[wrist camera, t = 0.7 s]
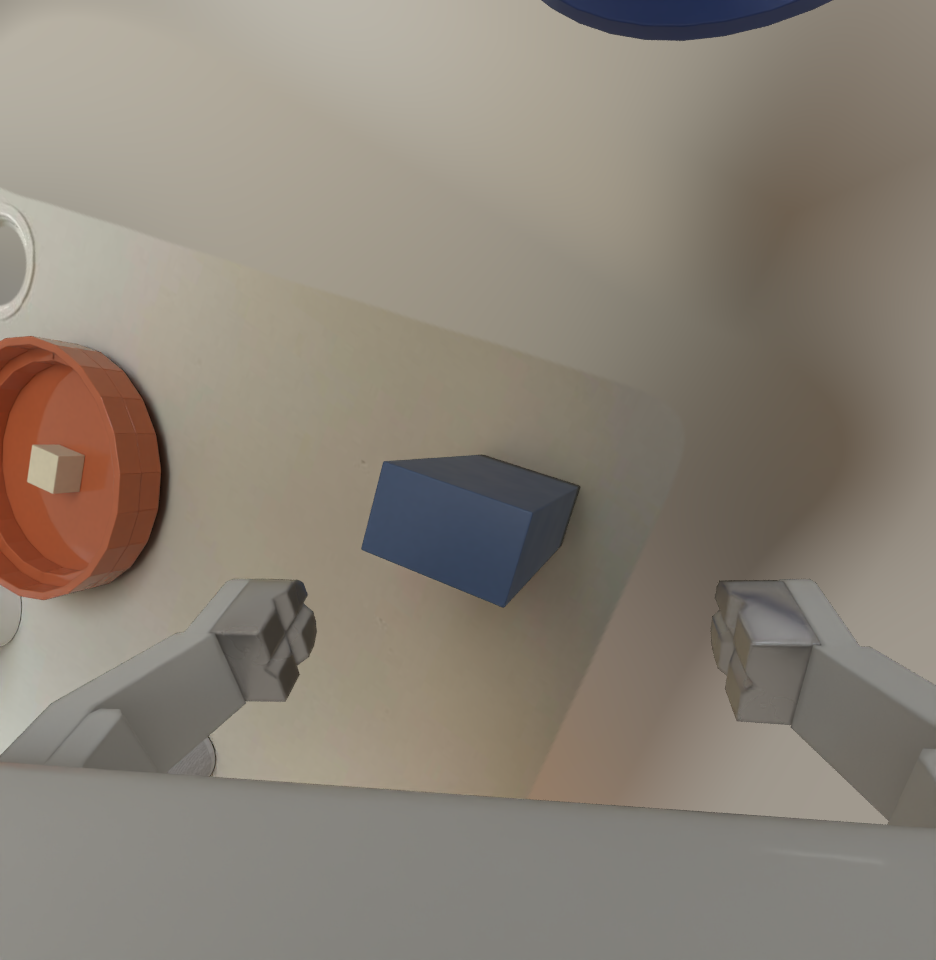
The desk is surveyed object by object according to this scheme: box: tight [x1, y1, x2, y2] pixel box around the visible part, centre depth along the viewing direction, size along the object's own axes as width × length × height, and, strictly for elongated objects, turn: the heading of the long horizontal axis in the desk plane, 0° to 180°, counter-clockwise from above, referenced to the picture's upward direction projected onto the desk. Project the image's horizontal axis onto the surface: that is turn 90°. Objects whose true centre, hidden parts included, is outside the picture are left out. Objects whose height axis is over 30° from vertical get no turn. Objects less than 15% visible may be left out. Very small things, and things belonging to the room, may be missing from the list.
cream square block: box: [27, 445, 85, 494], centre depth 41 cm, size 3×3×2 cm
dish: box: [0, 336, 161, 600], centre depth 41 cm, size 19×19×4 cm
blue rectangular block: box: [362, 455, 580, 607], centre depth 25 cm, size 4×6×12 cm, turn 74°
